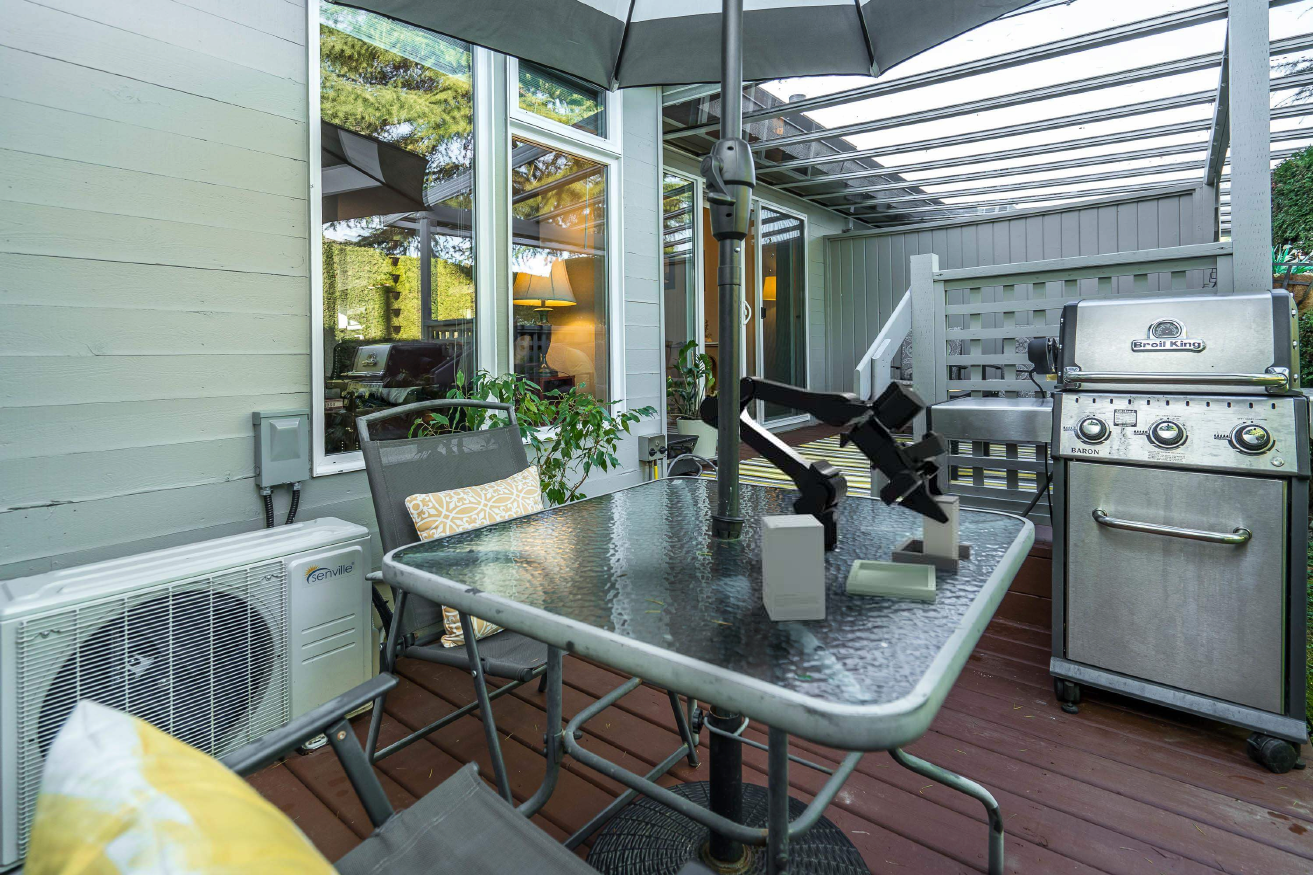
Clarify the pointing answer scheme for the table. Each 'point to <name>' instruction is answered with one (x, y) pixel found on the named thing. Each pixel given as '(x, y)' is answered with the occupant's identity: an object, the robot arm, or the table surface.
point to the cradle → (927, 555)
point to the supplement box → (793, 567)
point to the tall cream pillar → (942, 529)
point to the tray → (892, 580)
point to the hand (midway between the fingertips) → (950, 518)
